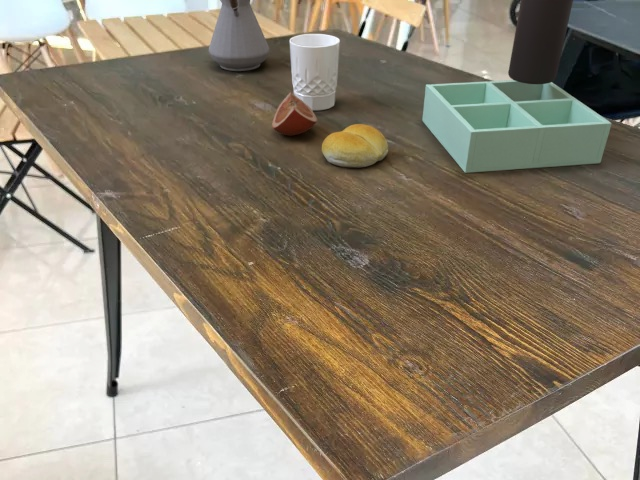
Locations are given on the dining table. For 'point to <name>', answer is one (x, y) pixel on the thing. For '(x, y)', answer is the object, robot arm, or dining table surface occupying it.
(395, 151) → the dining table surface
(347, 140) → the bread roll
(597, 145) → the green compartment tray
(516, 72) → the vinegar
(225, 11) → the coffee pot
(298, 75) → the white cup
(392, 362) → the dining table surface
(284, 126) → the fruit slice
